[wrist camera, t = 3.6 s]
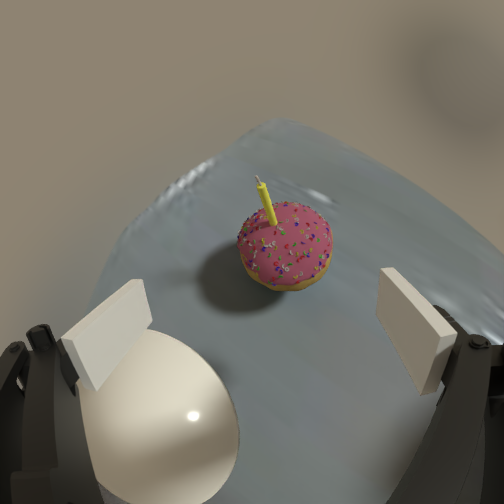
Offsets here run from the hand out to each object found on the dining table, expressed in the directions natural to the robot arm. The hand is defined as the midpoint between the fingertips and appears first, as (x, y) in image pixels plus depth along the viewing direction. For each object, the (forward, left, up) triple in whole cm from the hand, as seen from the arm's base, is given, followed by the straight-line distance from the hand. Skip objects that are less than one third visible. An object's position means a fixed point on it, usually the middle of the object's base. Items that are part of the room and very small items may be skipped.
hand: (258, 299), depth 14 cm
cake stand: (+12, +2, -12) cm, 17 cm away
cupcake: (-6, -5, -12) cm, 15 cm away
